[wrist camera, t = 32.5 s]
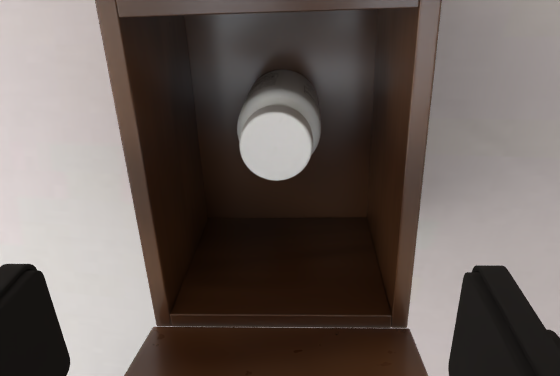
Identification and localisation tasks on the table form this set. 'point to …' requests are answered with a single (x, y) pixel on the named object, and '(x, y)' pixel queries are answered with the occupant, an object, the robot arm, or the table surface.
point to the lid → (277, 352)
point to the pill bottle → (279, 125)
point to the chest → (269, 193)
